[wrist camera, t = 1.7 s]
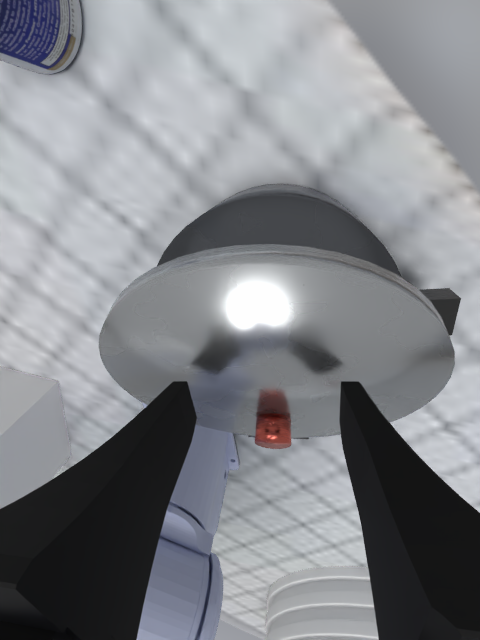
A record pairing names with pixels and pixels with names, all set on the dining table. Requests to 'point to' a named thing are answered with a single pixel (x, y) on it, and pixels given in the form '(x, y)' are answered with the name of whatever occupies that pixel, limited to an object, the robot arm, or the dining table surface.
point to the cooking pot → (294, 232)
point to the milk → (30, 433)
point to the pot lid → (276, 339)
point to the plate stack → (322, 605)
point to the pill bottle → (40, 33)
